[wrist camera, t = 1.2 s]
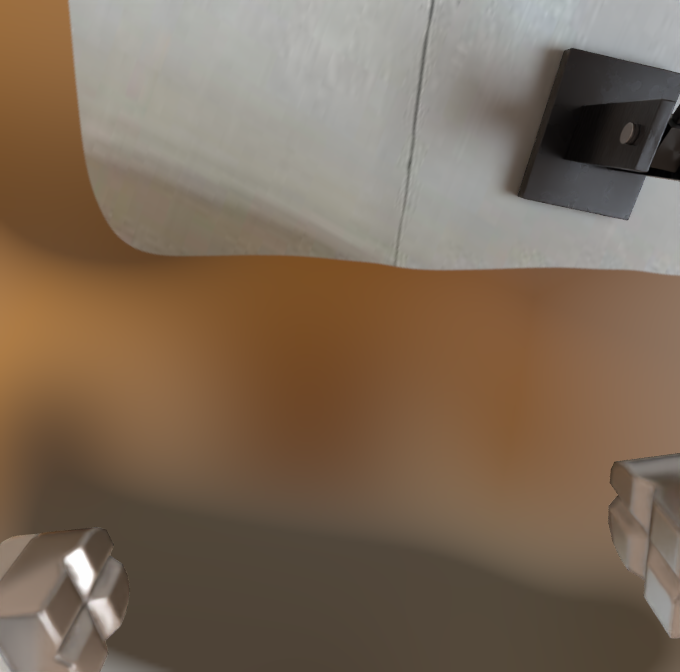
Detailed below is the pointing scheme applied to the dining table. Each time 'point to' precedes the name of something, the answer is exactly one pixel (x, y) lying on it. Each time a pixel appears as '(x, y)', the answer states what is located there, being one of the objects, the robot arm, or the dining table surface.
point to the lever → (669, 146)
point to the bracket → (600, 134)
